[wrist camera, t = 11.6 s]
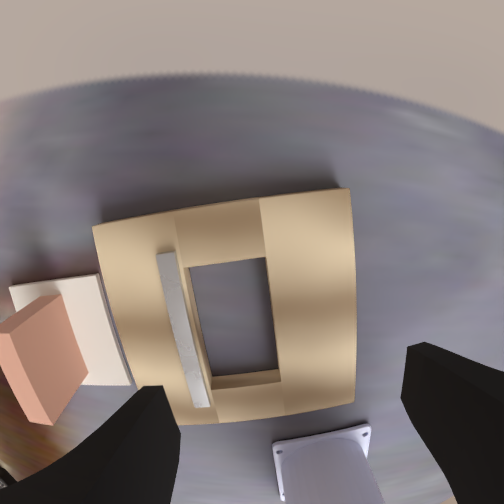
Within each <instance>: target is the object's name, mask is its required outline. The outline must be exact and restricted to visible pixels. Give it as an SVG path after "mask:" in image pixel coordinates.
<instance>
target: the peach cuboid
mask: <svg viewBox="0 0 504 504" xmlns="http://www.w3.org/2000/svg"><path fill="white" fill-rule="evenodd" d="M0 365H1V367H2V370H3V372H4V374H5V376H6V378H7V380H8V382H9V384H10V386H11V388H12V390H13V392H14V394H15V396H16V398H17V400H18V402H19V403H20V405H21V407H22V409H23V411H24V412H25V414H26V416H27V418H28V419H29V421H30V422H35V423H41V424H46V425H52V426H53V425H54V423H55V422H56V420H57V419H58V417H59V416H60V414H61V413H62V411H63V410H64V408H65V407H66V405H67V404H68V402H69V401H70V399H71V398H72V396H73V395H74V393H75V392H76V391H77V389H78V388H79V386H80V385H81V383H82V382H83V380H84V379H85V378H86V376H87V375H88V373H89V372H88V370H87V367H86V365H85V362H84V360H83V357H82V354H81V352H80V349H79V346H78V344H77V341H76V338H75V335H74V332H73V329H72V326H71V323H70V320H69V317H68V314H67V311H66V307H65V304H64V301H63V297H62V294H58V295H49V296H40V297H38V298H37V299H35V300H34V301H32V302H31V303H29V304H28V305H27V306H25V307H24V308H22V309H21V310H19V311H18V312H16V313H15V314H14V315H12V316H11V317H9V318H8V319H6V320H5V321H4V322H2V323H1V324H0Z"/></svg>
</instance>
